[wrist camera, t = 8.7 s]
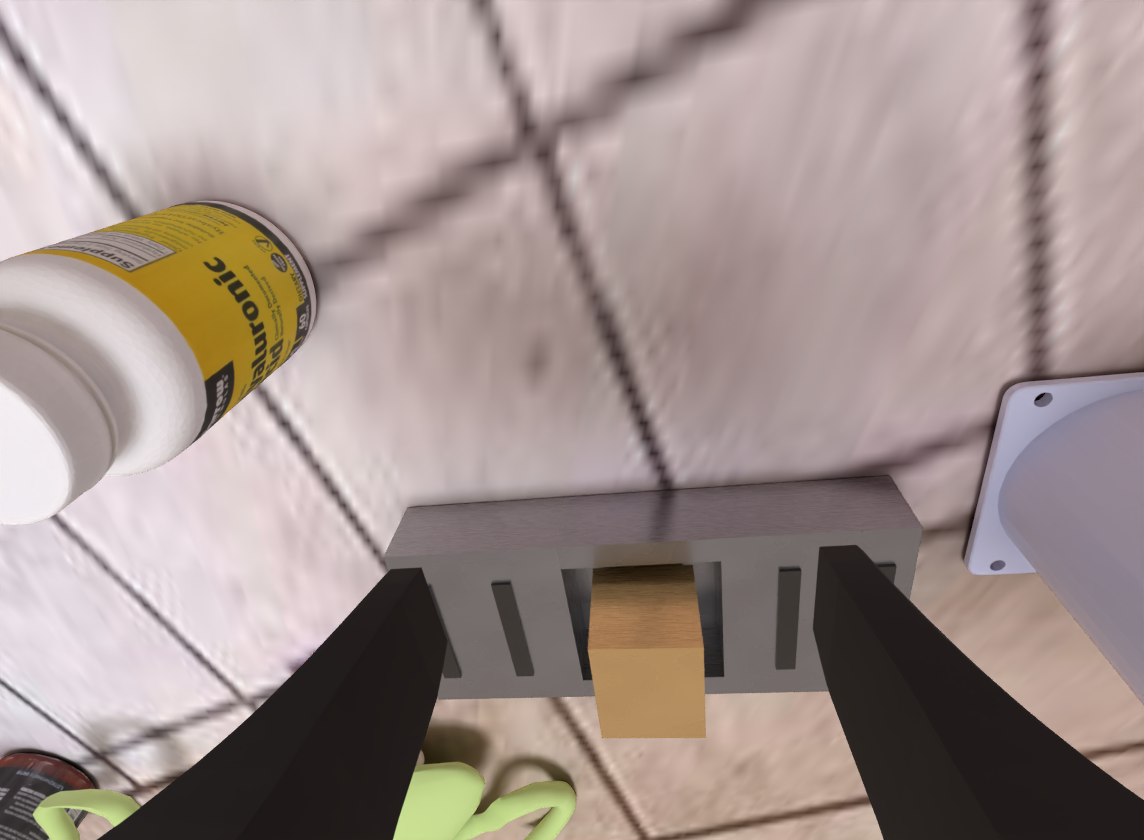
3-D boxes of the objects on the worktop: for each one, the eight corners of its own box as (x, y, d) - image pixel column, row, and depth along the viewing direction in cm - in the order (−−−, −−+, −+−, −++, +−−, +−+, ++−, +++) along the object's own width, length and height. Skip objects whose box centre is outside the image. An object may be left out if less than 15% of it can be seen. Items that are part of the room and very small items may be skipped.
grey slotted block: (890, 475, 22) (924, 529, 19) (867, 630, 26) (893, 692, 23) (407, 507, 24) (382, 559, 22) (454, 644, 28) (438, 702, 26)
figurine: (55, 738, 36) (-33, 844, 31) (411, 598, 27) (365, 712, 23) (276, 882, 43) (232, 985, 38) (608, 806, 35) (605, 926, 30)
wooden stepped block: (687, 527, 23) (703, 647, 18) (690, 611, 25) (705, 737, 21) (595, 531, 23) (587, 649, 19) (606, 613, 26) (601, 737, 21)
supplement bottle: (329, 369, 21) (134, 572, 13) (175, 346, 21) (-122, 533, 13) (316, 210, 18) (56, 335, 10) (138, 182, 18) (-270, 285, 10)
